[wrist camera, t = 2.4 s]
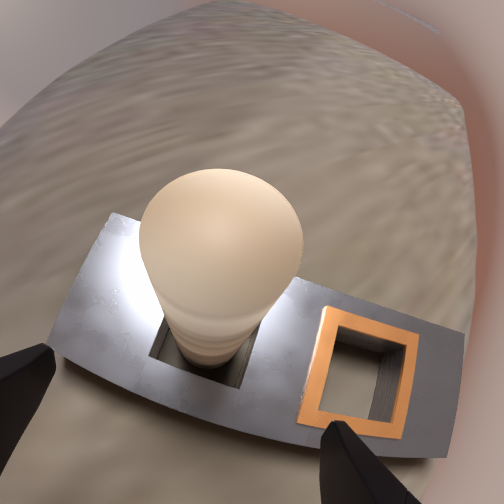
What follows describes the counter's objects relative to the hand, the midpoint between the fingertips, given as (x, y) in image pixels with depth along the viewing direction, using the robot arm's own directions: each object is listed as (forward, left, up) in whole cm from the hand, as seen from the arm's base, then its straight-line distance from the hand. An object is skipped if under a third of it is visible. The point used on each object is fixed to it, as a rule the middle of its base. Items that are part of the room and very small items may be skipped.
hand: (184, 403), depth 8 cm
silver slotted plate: (+3, -5, -11) cm, 13 cm away
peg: (+4, 0, -11) cm, 12 cm away
